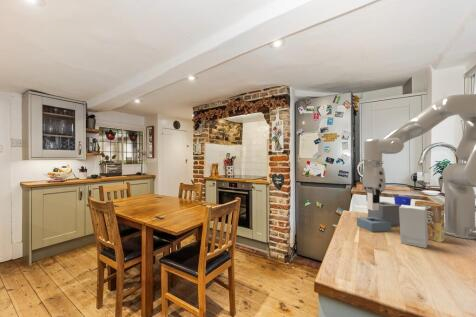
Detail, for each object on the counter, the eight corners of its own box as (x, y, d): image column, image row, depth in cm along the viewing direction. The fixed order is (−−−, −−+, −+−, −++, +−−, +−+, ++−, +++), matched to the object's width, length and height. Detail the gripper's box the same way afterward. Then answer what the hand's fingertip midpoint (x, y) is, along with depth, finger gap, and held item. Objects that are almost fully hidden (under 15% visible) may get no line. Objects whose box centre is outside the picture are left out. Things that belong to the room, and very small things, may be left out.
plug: (378, 210, 106) (378, 189, 106) (372, 210, 105) (372, 189, 105) (373, 208, 109) (373, 188, 109) (367, 208, 108) (367, 188, 108)
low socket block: (390, 230, 103) (390, 222, 103) (371, 231, 101) (371, 223, 101) (374, 224, 113) (374, 216, 113) (356, 225, 111) (356, 217, 111)
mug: (396, 216, 129) (396, 198, 129) (393, 211, 140) (393, 195, 139) (414, 217, 125) (414, 200, 125) (409, 212, 136) (409, 196, 136)
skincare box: (428, 244, 86) (428, 206, 86) (426, 249, 82) (426, 209, 82) (402, 239, 92) (401, 203, 92) (398, 242, 88) (398, 206, 88)
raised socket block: (400, 225, 111) (400, 205, 111) (382, 226, 110) (382, 206, 110) (384, 219, 121) (384, 201, 121) (368, 220, 120) (367, 202, 120)
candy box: (444, 240, 91) (444, 203, 91) (441, 242, 88) (441, 204, 88) (418, 234, 98) (418, 200, 98) (414, 236, 96) (414, 201, 96)
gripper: (394, 164, 99) (394, 205, 99) (367, 163, 116) (367, 198, 116) (379, 164, 98) (379, 206, 98) (354, 163, 115) (354, 199, 115)
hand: (372, 201), depth 107 cm, fingers closed on plug, 3 cm apart
